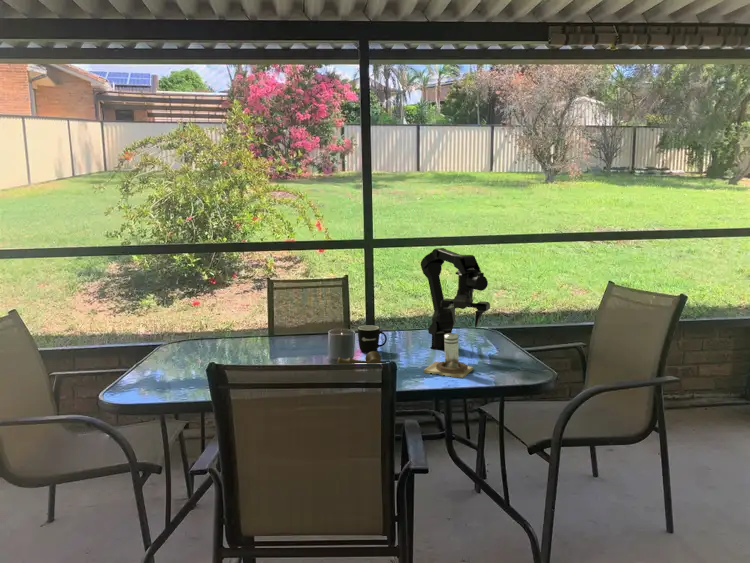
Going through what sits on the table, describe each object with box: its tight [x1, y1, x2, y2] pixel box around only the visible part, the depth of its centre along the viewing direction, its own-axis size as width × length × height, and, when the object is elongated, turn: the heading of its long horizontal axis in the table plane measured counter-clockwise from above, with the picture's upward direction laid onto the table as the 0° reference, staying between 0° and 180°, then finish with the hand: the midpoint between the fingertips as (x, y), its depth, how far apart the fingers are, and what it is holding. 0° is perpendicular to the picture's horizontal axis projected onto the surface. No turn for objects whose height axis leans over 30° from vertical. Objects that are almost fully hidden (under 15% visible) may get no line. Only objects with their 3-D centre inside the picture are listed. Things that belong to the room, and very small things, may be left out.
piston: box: [444, 332, 460, 369], centre depth 219 cm, size 5×5×13 cm
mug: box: [357, 324, 388, 354], centre depth 248 cm, size 12×9×10 cm
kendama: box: [337, 351, 391, 364], centre depth 224 cm, size 6×10×20 cm
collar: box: [423, 361, 474, 379], centre depth 222 cm, size 15×12×2 cm
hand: (464, 326), depth 237 cm, fingers open, 9 cm apart
